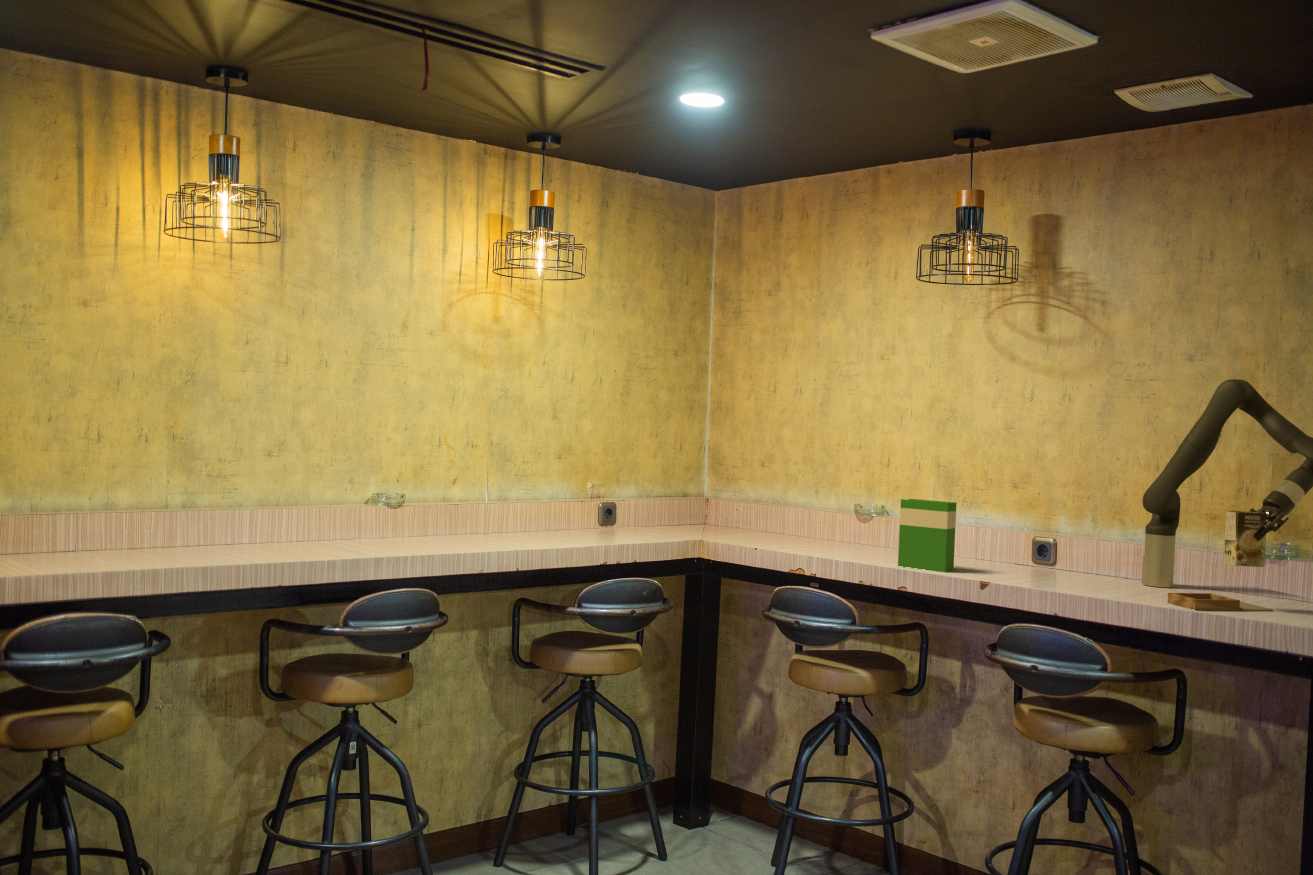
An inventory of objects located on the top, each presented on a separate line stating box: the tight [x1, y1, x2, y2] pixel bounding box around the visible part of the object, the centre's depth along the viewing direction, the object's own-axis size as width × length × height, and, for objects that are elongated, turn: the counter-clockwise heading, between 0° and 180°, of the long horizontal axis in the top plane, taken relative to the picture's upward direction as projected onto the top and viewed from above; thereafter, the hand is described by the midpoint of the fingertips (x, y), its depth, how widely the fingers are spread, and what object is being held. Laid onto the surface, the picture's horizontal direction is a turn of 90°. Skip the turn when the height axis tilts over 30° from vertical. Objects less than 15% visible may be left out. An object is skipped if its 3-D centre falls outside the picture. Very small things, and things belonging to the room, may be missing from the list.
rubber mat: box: [1239, 601, 1274, 612], centre depth 319 cm, size 13×10×1 cm
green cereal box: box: [897, 498, 957, 573], centre depth 379 cm, size 18×7×24 cm, turn 52°
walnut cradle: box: [1167, 592, 1241, 611], centre depth 317 cm, size 12×14×3 cm
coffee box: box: [1223, 509, 1267, 568], centre depth 319 cm, size 9×6×16 cm
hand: (1247, 536), depth 319 cm, fingers closed on coffee box, 7 cm apart
